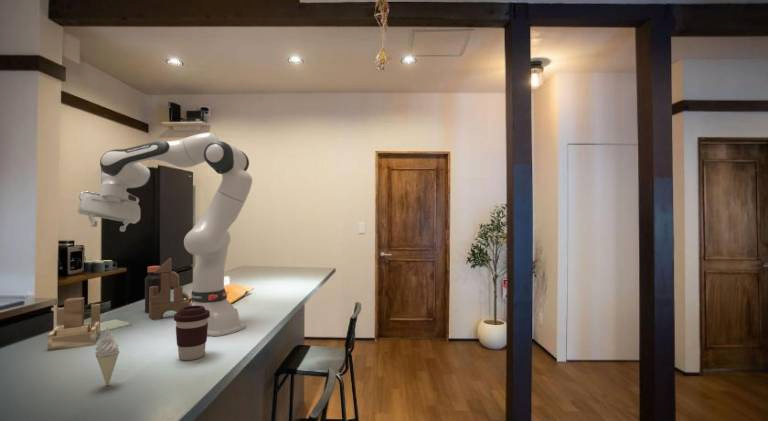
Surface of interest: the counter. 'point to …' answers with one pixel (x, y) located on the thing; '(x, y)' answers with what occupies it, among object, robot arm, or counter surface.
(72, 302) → the block
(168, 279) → the wooden toy
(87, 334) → the tan piece
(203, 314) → the coffee cup
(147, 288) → the bottle
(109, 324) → the pad
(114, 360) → the ice cream cone
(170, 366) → the counter surface
